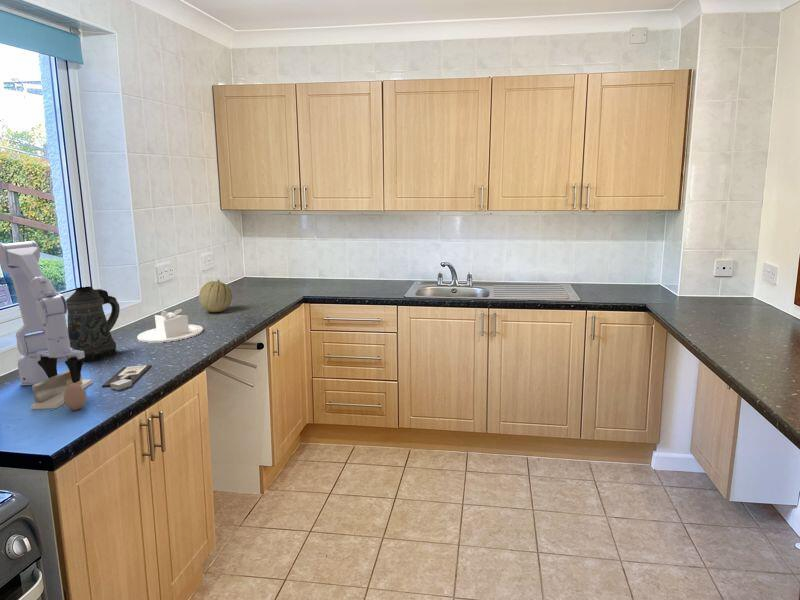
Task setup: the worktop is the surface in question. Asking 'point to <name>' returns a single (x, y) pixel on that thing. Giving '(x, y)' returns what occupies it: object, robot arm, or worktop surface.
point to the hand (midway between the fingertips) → (65, 381)
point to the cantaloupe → (215, 296)
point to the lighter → (122, 383)
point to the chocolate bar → (133, 371)
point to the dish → (170, 328)
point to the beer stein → (91, 323)
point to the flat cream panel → (57, 398)
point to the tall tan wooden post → (52, 386)
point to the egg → (74, 397)
